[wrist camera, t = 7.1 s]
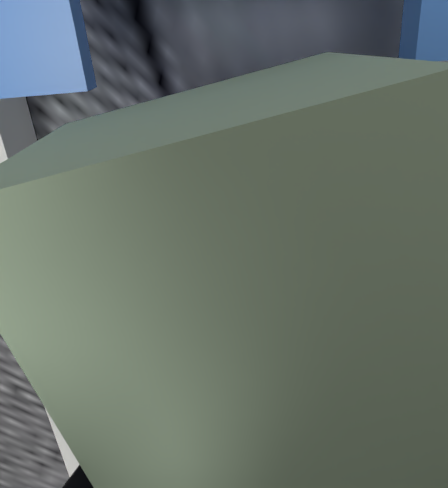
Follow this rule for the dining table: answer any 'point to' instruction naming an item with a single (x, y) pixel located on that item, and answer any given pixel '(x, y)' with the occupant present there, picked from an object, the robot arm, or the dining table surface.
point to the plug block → (242, 280)
